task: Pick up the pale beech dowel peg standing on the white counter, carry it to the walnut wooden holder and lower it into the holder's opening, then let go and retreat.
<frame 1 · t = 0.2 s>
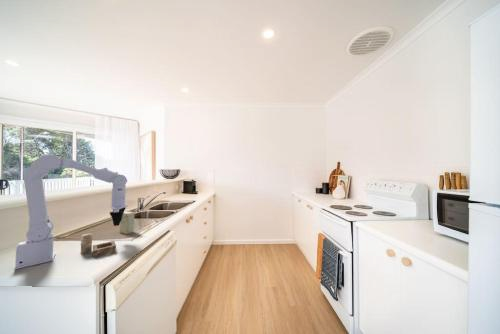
hand: (117, 223, 89), 10 cm above the counter, fingers open, 7 cm apart
skincare box: (126, 232, 104), on the counter
beech peg: (86, 252, 78), on the counter
walnut holder: (104, 251, 79), on the counter
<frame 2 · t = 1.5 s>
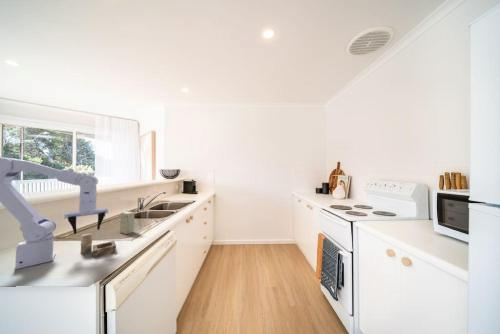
hand: (87, 231, 79), 10 cm above the counter, fingers open, 7 cm apart
nothing on the counter moved.
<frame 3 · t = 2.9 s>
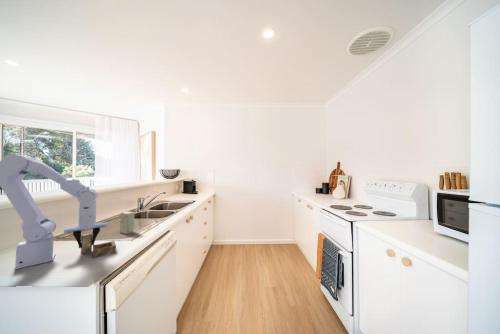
hand: (86, 246, 78), 3 cm above the counter, fingers closed on beech peg, 4 cm apart
beech peg: (86, 252, 78), on the counter, touching gripper
everything else where it was.
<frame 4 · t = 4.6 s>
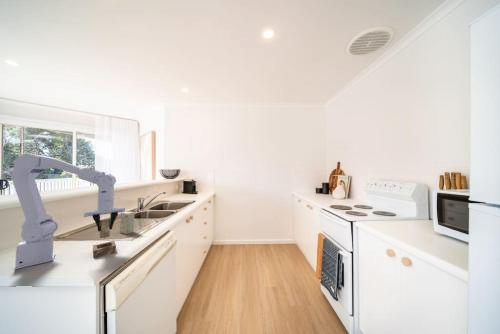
hand: (105, 229, 79), 10 cm above the counter, fingers closed on beech peg, 4 cm apart
beech peg: (104, 236, 79), point 7 cm above the counter, touching gripper
everything else where it was.
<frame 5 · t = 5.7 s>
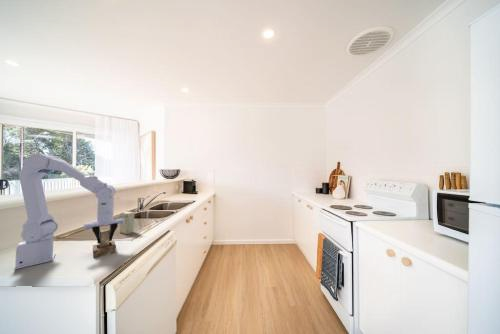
hand: (104, 241, 79), 5 cm above the counter, fingers closed on beech peg, 4 cm apart
beech peg: (104, 248, 79), point 2 cm above the counter, touching gripper
everything else where it was.
when the fingers open (4 cm above the counter, at t = 6.6 s): beech peg drops 1 cm, resting in walnut holder.
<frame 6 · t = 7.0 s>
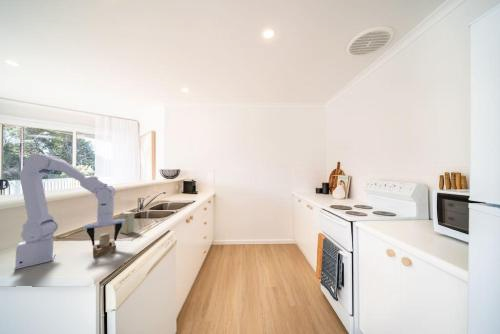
hand: (104, 242, 79), 4 cm above the counter, fingers open, 7 cm apart
beech peg: (104, 251, 79), resting in walnut holder
everything else where it was.
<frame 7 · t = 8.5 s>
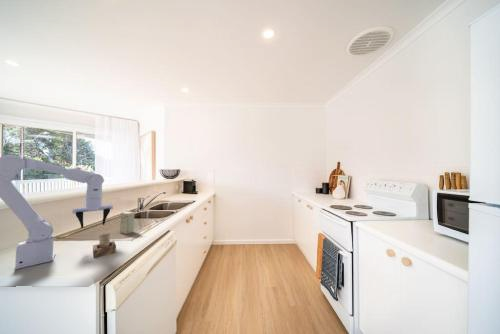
hand: (93, 225, 84), 10 cm above the counter, fingers open, 7 cm apart
nothing on the counter moved.
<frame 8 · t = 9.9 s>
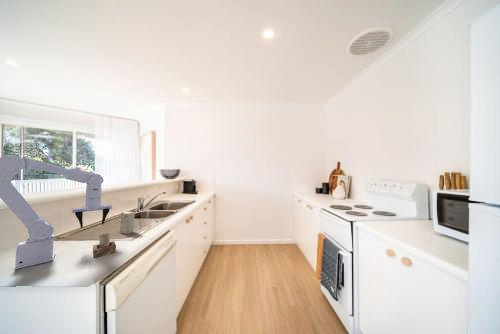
hand: (92, 225, 84), 10 cm above the counter, fingers open, 7 cm apart
nothing on the counter moved.
at the end: beech peg 0.1 cm off-centre on the walnut holder, point 0.0 cm above the walnut holder's base; beech peg tilted 0°; the gripper is holding nothing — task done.
